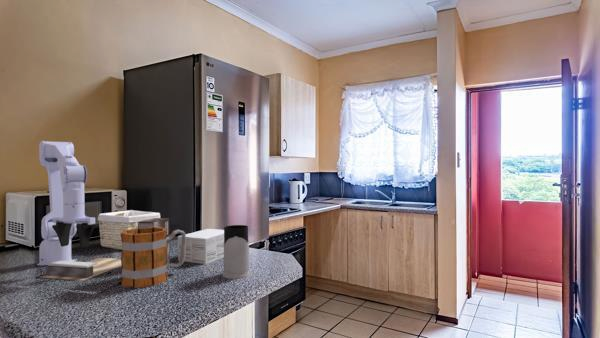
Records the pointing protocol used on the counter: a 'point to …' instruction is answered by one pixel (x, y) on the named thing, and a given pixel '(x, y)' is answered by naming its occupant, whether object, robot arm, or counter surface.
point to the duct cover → (72, 264)
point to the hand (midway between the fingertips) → (74, 246)
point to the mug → (147, 256)
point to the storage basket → (120, 225)
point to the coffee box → (158, 223)
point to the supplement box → (203, 246)
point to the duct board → (83, 270)
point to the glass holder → (236, 252)
